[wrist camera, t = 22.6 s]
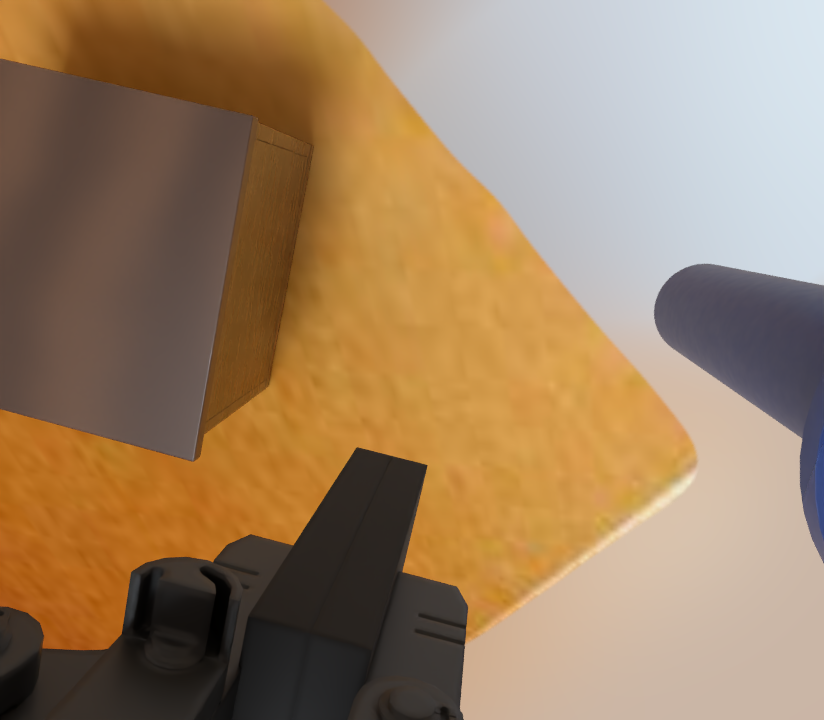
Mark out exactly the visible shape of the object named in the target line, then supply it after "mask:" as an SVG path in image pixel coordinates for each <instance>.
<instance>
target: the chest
mask: <svg viewBox="0 0 824 720" xmlns="http://www.w3.org/2000/svg"><path fill="white" fill-rule="evenodd" d="M313 148H314V147H313V146H312V145H310V144H308V143H305V142H303V141H301V140H298V139H296V138H294V137H291V136H289V135H287V134H284V133H282V132H280V131H277V130H275V129H273V128H270V127H268V126H266V125H263V124H261V123H259V122H258V125H257V131H256V137H255V143H254V148H253V154H252V160H251V166H250V171H249V177H248V183H247V189H246V194H245V200H244V206H243V212H242V218H241V223H240V229H239V235H238V241H237V246H236V252H235V258H234V264H233V269H232V275H231V281H230V287H229V292H228V298H227V304H226V310H225V315H224V321H223V327H222V333H221V339H220V344H219V350H218V356H217V362H216V367H215V373H214V379H213V385H212V390H211V396H210V402H209V408H208V413H207V419H206V425H205V431H204V434H205V433H207V432H208V431H209V430H211V429H212V428H213V427H215V426H216V425H217V424H219V423H220V422H221V421H223V420H224V419H226V418H227V417H228V416H230V415H231V414H232V413H234V412H235V411H236V410H238V409H239V408H240V407H242V406H243V405H244V404H246V403H247V402H248V401H250V400H251V399H252V398H254V397H255V396H256V395H258V394H259V393H260V392H262V391H263V390H264V389H266V388H267V387H268V384H269V378H270V373H271V368H272V363H273V357H274V352H275V347H276V342H277V336H278V331H279V326H280V321H281V315H282V310H283V305H284V300H285V294H286V289H287V284H288V279H289V273H290V268H291V263H292V258H293V253H294V247H295V242H296V237H297V232H298V226H299V221H300V216H301V211H302V205H303V200H304V195H305V190H306V184H307V179H308V174H309V169H310V163H311V158H312V153H313Z"/></svg>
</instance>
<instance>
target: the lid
mask: <svg viewBox="0 0 824 720" xmlns="http://www.w3.org/2000/svg"><path fill="white" fill-rule="evenodd" d="M257 125H258V118H257V117H254V116H252V115H247V114H243V113H239V112H234V111H230V110H225V109H221V108H217V107H212V106H208V105H203V104H199V103H194V102H190V101H186V100H181V99H177V98H172V97H168V96H164V95H159V94H155V93H150V92H146V91H141V90H137V89H133V88H128V87H124V86H119V85H115V84H111V83H106V82H102V81H97V80H93V79H89V78H84V77H80V76H75V75H71V74H66V73H62V72H58V71H53V70H49V69H44V68H40V67H36V66H31V65H27V64H22V63H18V62H13V61H9V60H5V59H0V409H2V410H6V411H10V412H13V413H17V414H21V415H24V416H28V417H32V418H35V419H39V420H43V421H46V422H50V423H54V424H57V425H61V426H65V427H68V428H72V429H76V430H79V431H83V432H87V433H90V434H94V435H98V436H101V437H105V438H109V439H112V440H116V441H120V442H123V443H127V444H131V445H134V446H138V447H141V448H145V449H149V450H152V451H156V452H160V453H163V454H167V455H171V456H174V457H178V458H182V459H185V460H189V461H195V460H196V459H198V458H199V457H200V454H201V448H202V442H203V436H204V431H205V425H206V419H207V413H208V408H209V402H210V396H211V390H212V385H213V379H214V373H215V367H216V362H217V356H218V350H219V344H220V339H221V333H222V327H223V321H224V315H225V310H226V304H227V298H228V292H229V287H230V281H231V275H232V269H233V264H234V258H235V252H236V246H237V241H238V235H239V229H240V223H241V218H242V212H243V206H244V200H245V194H246V189H247V183H248V177H249V171H250V166H251V160H252V154H253V148H254V143H255V137H256V131H257Z"/></svg>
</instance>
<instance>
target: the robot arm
mask: <svg viewBox="0 0 824 720" xmlns="http://www.w3.org/2000/svg"><path fill="white" fill-rule="evenodd" d="M426 469H427V465H425V464H421V463H417V462H413V461H409V460H405V459H401V458H397V457H393V456H389V455H385V454H381V453H378V452H374V451H370V450H366V449H362V448H358V447H357V448H356V450H355V451H354V453H353V454H352V456H351V457H350V459H349V460H348V462H347V463H346V465H345V467H344V468H343V470H342V471H341V473H340V474H339V476H338V477H337V479H336V481H335V482H334V484H333V485H332V487H331V488H330V490H329V491H328V493H327V494H326V496H325V498H324V499H323V501H322V502H321V504H320V505H319V507H318V508H317V510H316V512H315V513H314V515H313V516H312V518H311V519H310V521H309V522H308V524H307V525H306V527H305V529H304V530H303V532H302V533H301V535H300V536H299V538H298V539H297V541H296V543H295V544H294V546H292V545H289V544H285V543H281V542H277V541H274V540H270V539H266V538H262V537H258V536H255V535H248V536H246V537H244V538H241V539H239V540H237V541H235V542H232V543H230V544H228V545H227V546H226V547H225V548H224V549H223V550H222V552H221V553H220V554H219V555H218V556H217V557H216V559H215V560H214V562H210V561H208V560H202V559H196V558H190V557H175V558H163V559H159V560H155V561H151V562H147V563H145V564H143V565H142V566H140V567H138V568H137V569H135V570H133V571H132V572H131V578H130V584H129V591H128V597H127V604H126V610H125V617H124V624H123V630H122V634H121V636H120V637H119V638H118V639H117V640H116V641H115V642H114V643H113V644H112V645H111V646H110V648H109V649H104V650H62V649H42V646H43V638H44V635H43V632H42V628H41V625H40V623H39V622H38V621H37V620H35V619H34V618H33V617H32V616H30V615H29V614H28V613H25V612H22V611H19V610H16V609H13V608H9V607H0V720H463V714H462V712H461V711H460V698H461V686H462V674H463V662H464V649H465V646H464V645H465V637H466V625H467V613H468V606H467V604H466V602H465V600H464V598H463V597H462V595H461V593H460V591H459V590H458V588H457V587H456V586H452V585H448V584H445V583H441V582H437V581H433V580H430V579H426V578H422V577H418V576H414V575H411V574H407V573H403V572H402V570H403V566H404V562H405V558H406V553H407V549H408V545H409V541H410V537H411V532H412V528H413V524H414V520H415V516H416V511H417V507H418V503H419V499H420V495H421V490H422V486H423V482H424V478H425V474H426Z"/></svg>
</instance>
